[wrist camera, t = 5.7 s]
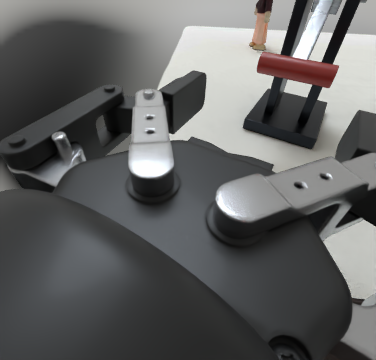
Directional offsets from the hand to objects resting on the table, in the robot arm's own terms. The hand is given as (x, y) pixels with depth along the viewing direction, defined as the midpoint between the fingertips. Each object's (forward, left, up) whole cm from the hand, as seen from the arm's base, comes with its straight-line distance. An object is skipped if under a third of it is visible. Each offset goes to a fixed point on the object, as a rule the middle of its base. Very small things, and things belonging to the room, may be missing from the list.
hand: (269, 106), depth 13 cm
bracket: (-12, -12, -9) cm, 19 cm away
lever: (-9, -9, +1) cm, 13 cm away
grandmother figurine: (-24, -42, -9) cm, 49 cm away
